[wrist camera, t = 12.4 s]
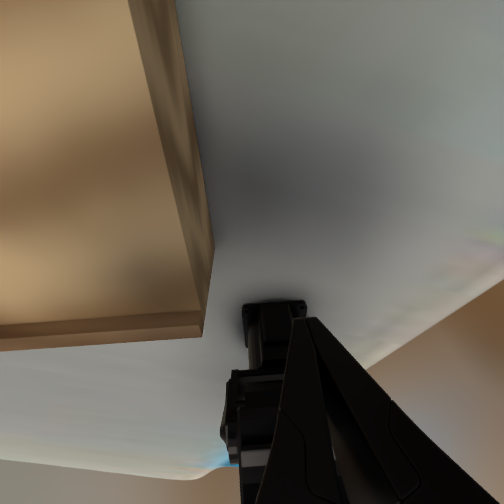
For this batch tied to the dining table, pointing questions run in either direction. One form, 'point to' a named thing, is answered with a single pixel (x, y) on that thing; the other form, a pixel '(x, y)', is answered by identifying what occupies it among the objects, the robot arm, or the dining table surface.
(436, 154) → the dining table surface
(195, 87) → the dining table surface
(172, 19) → the tan wooden box
